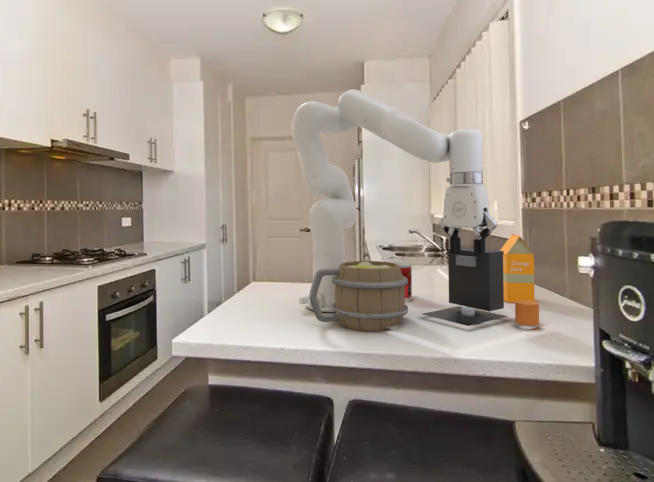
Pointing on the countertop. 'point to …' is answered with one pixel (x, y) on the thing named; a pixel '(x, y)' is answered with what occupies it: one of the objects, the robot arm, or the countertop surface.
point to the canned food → (407, 273)
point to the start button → (468, 311)
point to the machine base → (464, 316)
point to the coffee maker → (476, 279)
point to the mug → (364, 295)
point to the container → (527, 313)
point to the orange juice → (518, 270)
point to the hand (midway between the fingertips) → (467, 254)
